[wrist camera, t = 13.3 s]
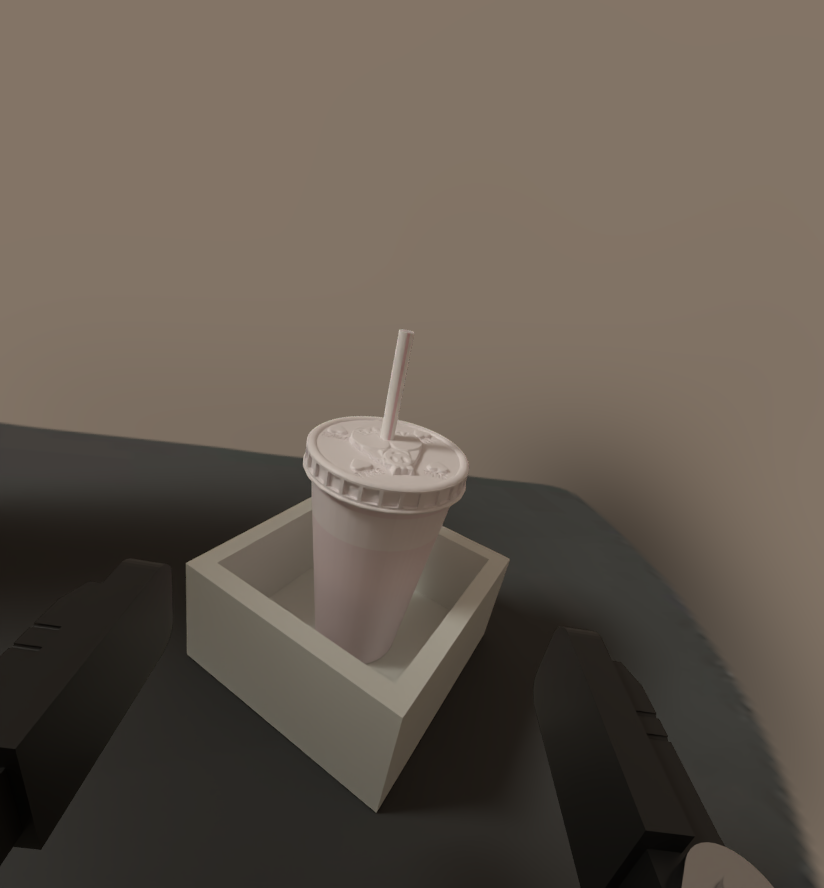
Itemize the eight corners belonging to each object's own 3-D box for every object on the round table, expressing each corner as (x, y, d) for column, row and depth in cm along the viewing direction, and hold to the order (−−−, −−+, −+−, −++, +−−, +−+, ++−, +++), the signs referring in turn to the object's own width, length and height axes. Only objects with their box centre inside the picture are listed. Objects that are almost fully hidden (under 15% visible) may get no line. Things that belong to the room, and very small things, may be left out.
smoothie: (400, 579, 25) (459, 327, 19) (441, 682, 20) (538, 372, 14) (281, 586, 23) (308, 304, 17) (289, 705, 17) (332, 348, 12)
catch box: (186, 654, 20) (185, 563, 18) (335, 548, 28) (346, 478, 26) (376, 813, 16) (402, 717, 14) (484, 633, 24) (510, 559, 22)
